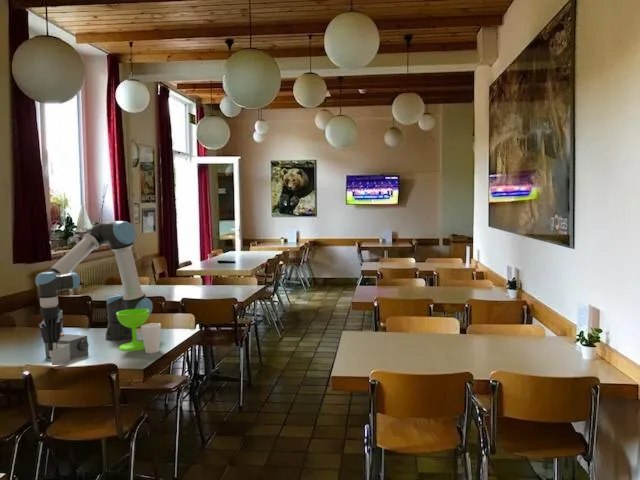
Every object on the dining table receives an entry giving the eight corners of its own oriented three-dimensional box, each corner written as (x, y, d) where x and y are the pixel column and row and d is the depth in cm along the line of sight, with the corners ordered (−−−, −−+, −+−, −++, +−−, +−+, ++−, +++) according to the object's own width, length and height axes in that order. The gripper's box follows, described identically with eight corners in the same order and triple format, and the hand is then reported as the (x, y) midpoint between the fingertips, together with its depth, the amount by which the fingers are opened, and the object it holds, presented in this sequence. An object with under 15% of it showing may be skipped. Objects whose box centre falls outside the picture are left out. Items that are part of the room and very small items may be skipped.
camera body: (91, 354, 285) (90, 334, 284) (73, 360, 274) (72, 339, 274) (63, 351, 292) (62, 332, 291) (45, 357, 281) (44, 337, 281)
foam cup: (151, 354, 278) (149, 328, 277) (138, 352, 283) (136, 326, 282) (166, 350, 286) (164, 323, 285) (153, 348, 291) (151, 322, 290)
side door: (69, 358, 275) (68, 343, 274) (71, 358, 275) (70, 343, 274) (51, 367, 261) (50, 351, 261) (53, 367, 261) (52, 351, 261)
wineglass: (118, 352, 285) (115, 316, 284) (118, 345, 300) (116, 310, 299) (152, 348, 290) (150, 312, 289) (150, 341, 305) (148, 307, 304)
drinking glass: (67, 330, 342) (65, 310, 341) (51, 334, 334) (49, 313, 333) (57, 329, 348) (55, 309, 347) (41, 332, 339) (39, 312, 338)
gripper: (53, 303, 272) (57, 352, 274) (31, 308, 260) (35, 360, 262) (66, 303, 270) (70, 353, 272) (45, 309, 258) (49, 361, 259)
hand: (53, 356), depth 267 cm, fingers closed
